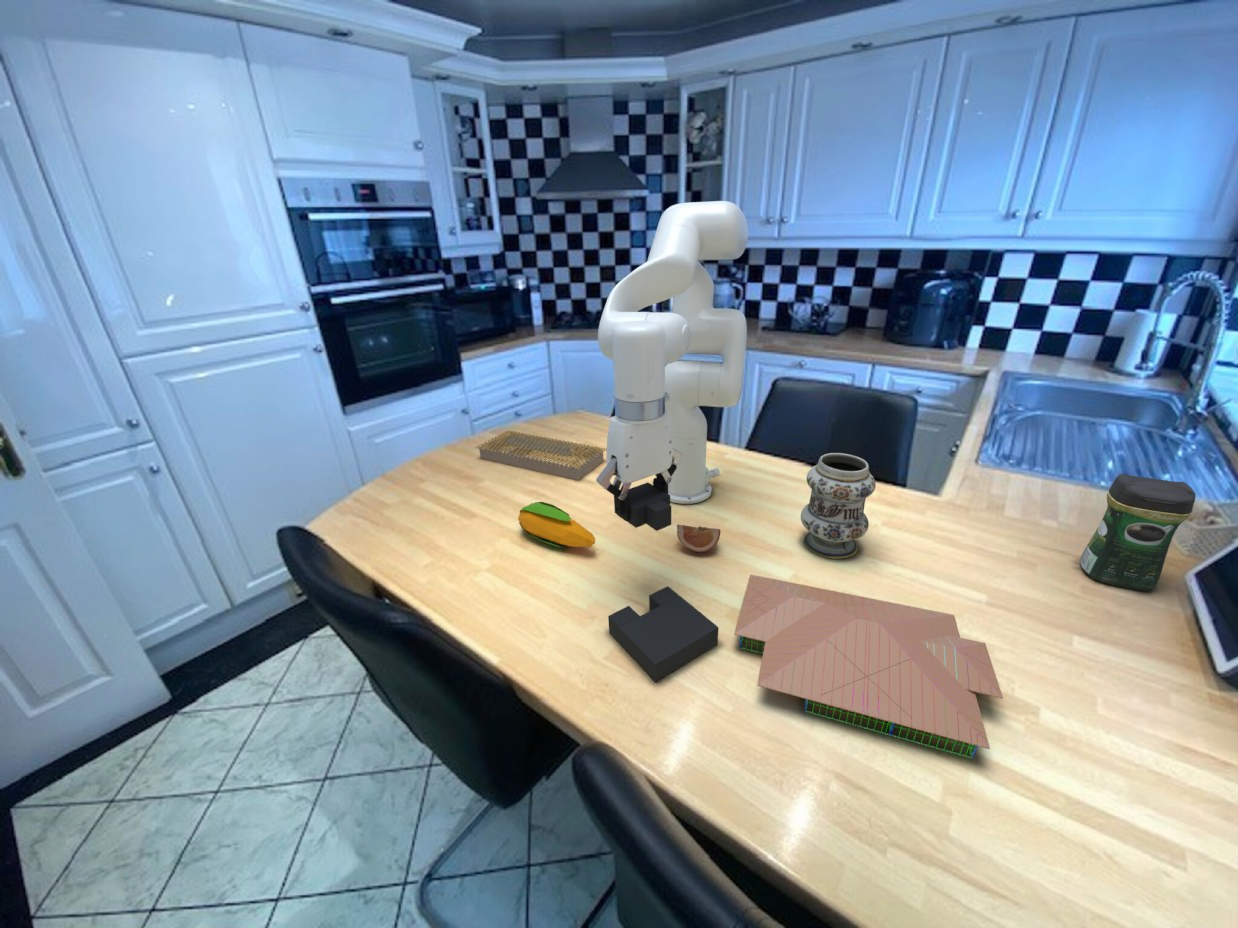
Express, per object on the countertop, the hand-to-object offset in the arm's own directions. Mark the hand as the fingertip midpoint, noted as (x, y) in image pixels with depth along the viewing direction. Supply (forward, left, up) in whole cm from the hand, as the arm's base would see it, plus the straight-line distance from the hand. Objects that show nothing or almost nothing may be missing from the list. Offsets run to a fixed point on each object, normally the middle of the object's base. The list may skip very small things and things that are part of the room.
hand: (642, 509), depth 83 cm
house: (-14, +32, -16) cm, 38 cm away
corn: (+5, -22, -16) cm, 28 cm away
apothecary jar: (-37, +12, -16) cm, 42 cm away
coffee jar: (-67, +47, -16) cm, 83 cm away
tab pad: (0, +1, -1) cm, 2 cm away
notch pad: (+5, +12, -16) cm, 20 cm away
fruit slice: (-16, -3, -16) cm, 23 cm away
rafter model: (-10, -61, -16) cm, 64 cm away
